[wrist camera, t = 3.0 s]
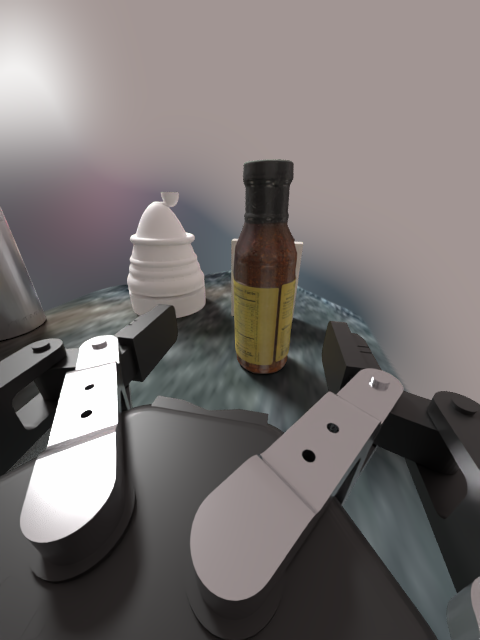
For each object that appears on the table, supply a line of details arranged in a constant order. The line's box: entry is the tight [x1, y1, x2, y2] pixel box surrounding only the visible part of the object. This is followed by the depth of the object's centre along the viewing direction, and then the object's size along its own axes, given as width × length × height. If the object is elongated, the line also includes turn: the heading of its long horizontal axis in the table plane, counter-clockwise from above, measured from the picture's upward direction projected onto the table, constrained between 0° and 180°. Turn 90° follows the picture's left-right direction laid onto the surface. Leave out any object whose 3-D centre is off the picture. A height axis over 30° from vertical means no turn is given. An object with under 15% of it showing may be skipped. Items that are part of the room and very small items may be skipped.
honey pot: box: [127, 192, 206, 318], centre depth 38 cm, size 13×13×18 cm
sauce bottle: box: [233, 159, 297, 374], centre depth 23 cm, size 6×6×20 cm
